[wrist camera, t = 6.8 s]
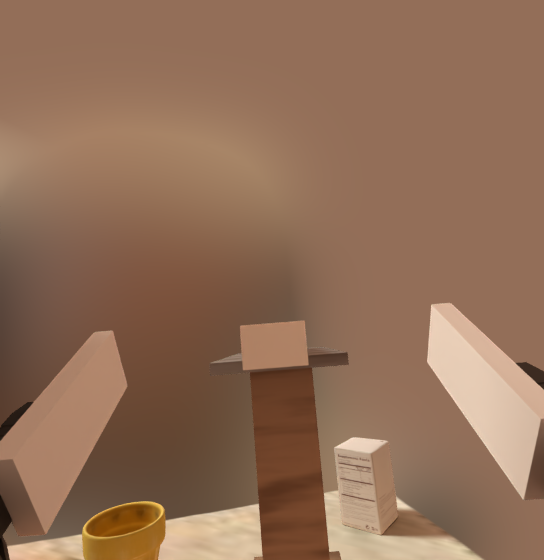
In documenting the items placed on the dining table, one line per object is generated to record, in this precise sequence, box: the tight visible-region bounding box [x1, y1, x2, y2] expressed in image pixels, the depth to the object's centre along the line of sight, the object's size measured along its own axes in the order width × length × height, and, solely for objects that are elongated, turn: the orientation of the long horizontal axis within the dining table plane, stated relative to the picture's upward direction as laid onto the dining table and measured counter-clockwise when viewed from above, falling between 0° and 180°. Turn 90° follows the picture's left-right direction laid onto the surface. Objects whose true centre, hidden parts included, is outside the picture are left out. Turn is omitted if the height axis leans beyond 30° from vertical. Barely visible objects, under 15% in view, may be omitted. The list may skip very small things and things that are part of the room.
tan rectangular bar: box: [240, 321, 309, 370], centre depth 44 cm, size 34×5×3 cm, turn 178°
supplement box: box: [334, 437, 398, 535], centre depth 66 cm, size 7×7×13 cm
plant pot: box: [82, 502, 165, 560], centre depth 51 cm, size 10×10×10 cm
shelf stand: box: [210, 347, 349, 560], centre depth 48 cm, size 24×14×30 cm, turn 178°
